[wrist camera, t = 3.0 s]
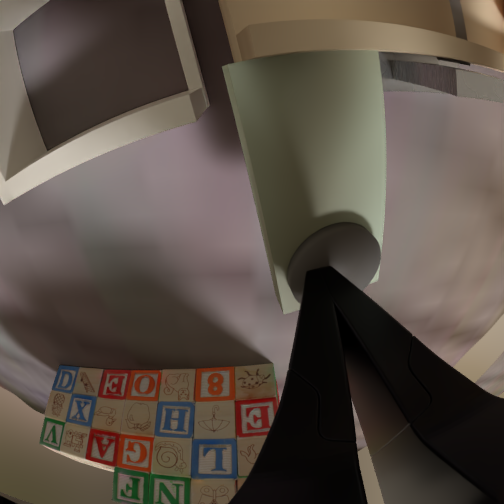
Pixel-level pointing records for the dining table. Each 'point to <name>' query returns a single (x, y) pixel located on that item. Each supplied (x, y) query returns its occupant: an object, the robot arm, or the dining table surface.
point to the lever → (332, 117)
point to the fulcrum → (436, 77)
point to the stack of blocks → (164, 428)
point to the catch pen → (96, 138)
